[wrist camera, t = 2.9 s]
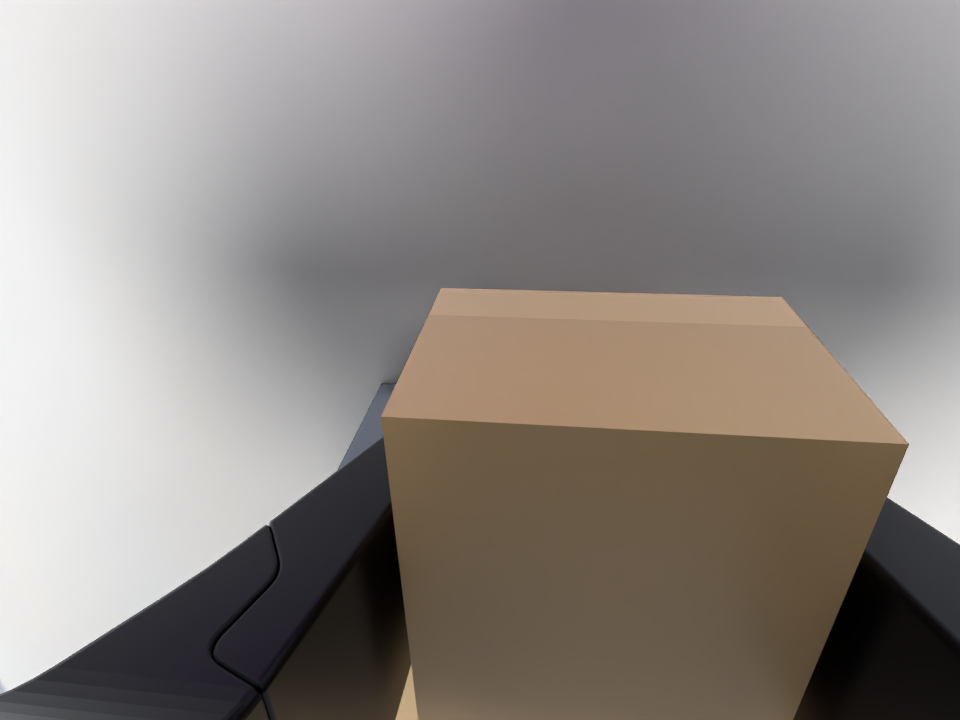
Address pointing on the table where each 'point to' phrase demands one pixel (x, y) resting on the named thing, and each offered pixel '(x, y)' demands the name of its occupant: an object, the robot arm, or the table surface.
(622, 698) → the tan board with handle
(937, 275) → the table surface
